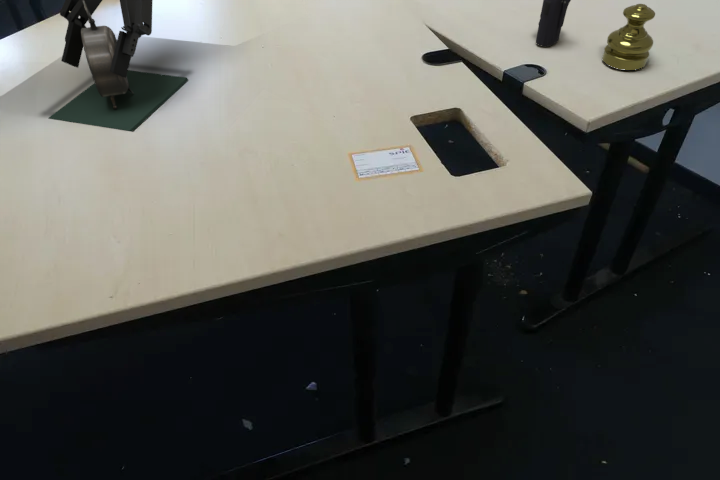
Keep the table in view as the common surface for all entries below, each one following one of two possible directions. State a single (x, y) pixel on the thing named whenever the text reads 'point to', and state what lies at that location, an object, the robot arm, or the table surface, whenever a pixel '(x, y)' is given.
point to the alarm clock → (102, 59)
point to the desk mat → (121, 102)
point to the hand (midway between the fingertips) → (93, 69)
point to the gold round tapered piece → (630, 40)
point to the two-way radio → (551, 21)
